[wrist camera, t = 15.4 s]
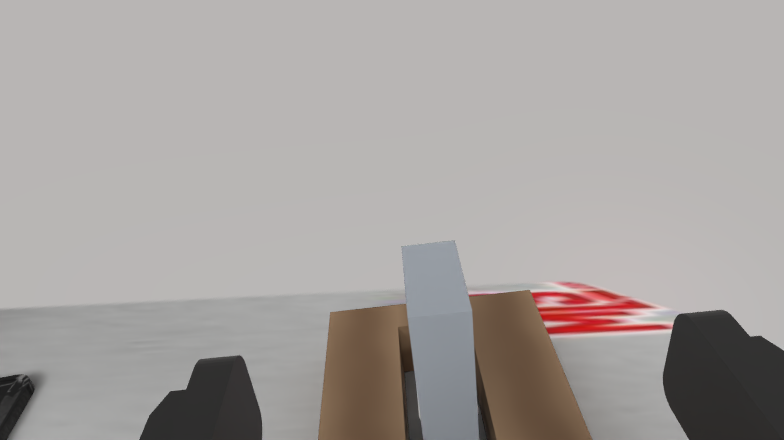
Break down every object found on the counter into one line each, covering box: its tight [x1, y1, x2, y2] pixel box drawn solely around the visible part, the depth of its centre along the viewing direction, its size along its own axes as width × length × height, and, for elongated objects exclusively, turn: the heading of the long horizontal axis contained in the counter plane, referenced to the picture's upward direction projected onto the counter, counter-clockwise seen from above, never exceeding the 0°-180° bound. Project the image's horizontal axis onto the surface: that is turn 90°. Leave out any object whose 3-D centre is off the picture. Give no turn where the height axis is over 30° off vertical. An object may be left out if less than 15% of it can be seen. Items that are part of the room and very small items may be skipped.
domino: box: [402, 241, 479, 440], centre depth 25 cm, size 2×5×11 cm, turn 2°
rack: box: [318, 290, 592, 440], centre depth 27 cm, size 12×16×4 cm
